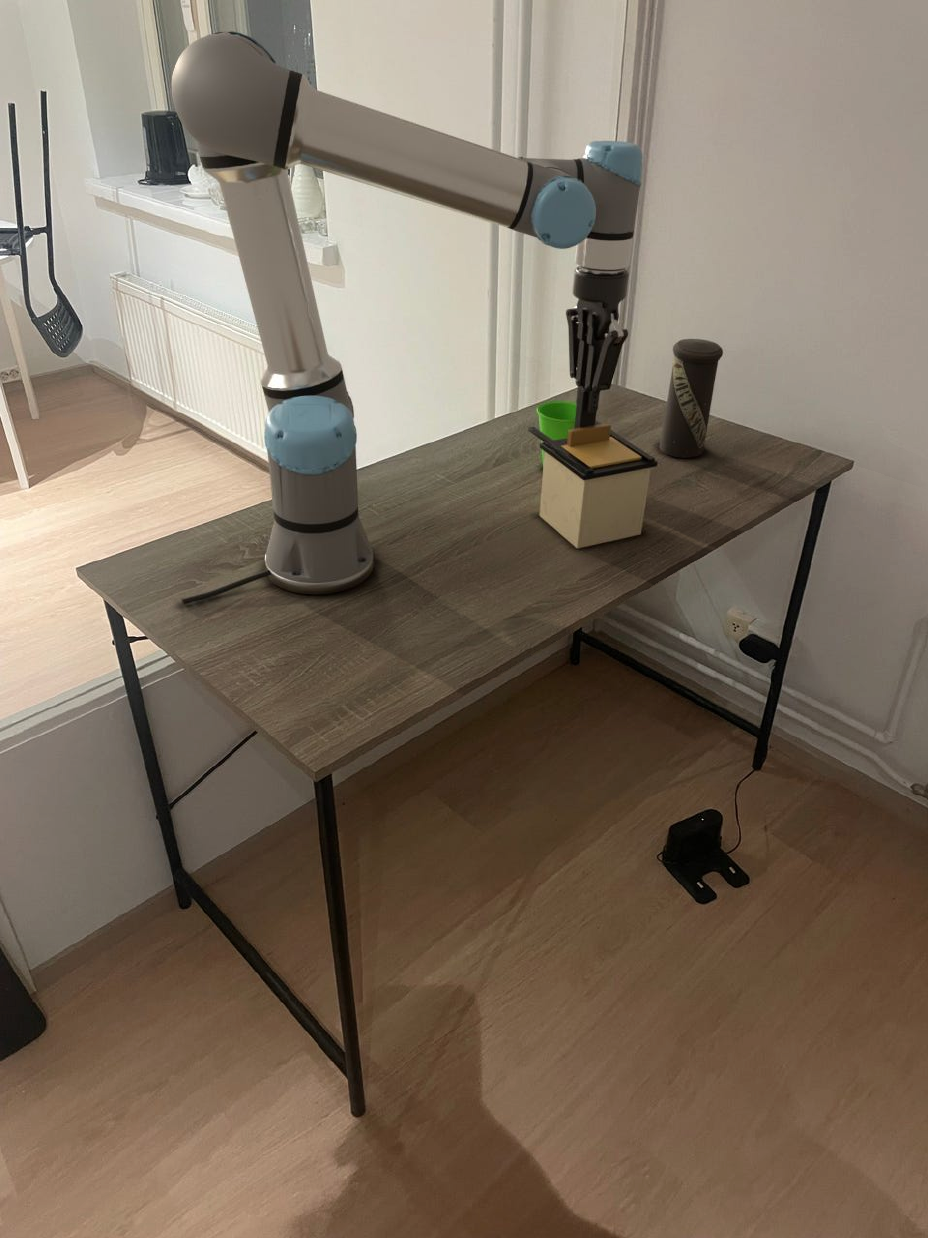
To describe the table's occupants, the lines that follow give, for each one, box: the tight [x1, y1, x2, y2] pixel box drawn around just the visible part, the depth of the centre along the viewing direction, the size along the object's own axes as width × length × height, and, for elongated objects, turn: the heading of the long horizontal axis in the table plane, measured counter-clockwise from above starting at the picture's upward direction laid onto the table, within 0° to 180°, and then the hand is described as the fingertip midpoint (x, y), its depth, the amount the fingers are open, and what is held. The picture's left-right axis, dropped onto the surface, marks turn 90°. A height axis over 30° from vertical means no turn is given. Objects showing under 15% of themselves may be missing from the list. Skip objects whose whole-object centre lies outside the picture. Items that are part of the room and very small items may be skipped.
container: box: [659, 338, 724, 459], centre depth 164 cm, size 9×9×20 cm
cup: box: [536, 400, 577, 467], centre depth 158 cm, size 9×9×11 cm
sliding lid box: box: [527, 419, 658, 549], centre depth 142 cm, size 13×18×13 cm
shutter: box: [561, 422, 642, 468], centre depth 135 cm, size 9×8×3 cm
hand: (584, 429), depth 138 cm, fingers closed
